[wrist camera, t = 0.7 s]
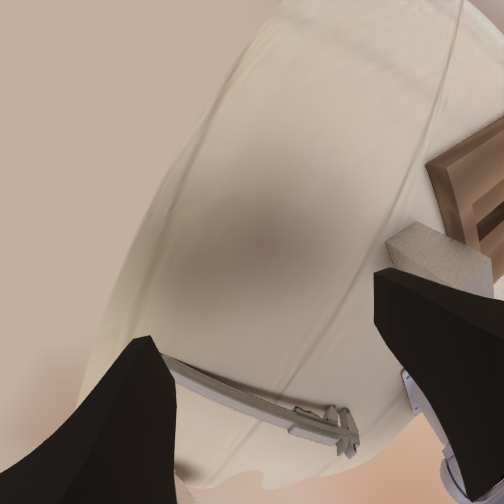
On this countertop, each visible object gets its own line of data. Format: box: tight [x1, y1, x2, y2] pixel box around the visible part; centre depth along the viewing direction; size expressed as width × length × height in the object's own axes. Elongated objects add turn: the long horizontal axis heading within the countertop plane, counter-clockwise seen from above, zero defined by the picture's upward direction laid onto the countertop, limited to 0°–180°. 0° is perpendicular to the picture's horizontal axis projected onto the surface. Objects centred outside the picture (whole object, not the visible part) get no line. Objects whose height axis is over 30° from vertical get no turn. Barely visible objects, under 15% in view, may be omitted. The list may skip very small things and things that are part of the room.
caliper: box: [160, 353, 360, 459], centre depth 20 cm, size 20×1×6 cm, turn 63°
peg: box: [386, 222, 494, 299], centre depth 16 cm, size 3×3×8 cm
